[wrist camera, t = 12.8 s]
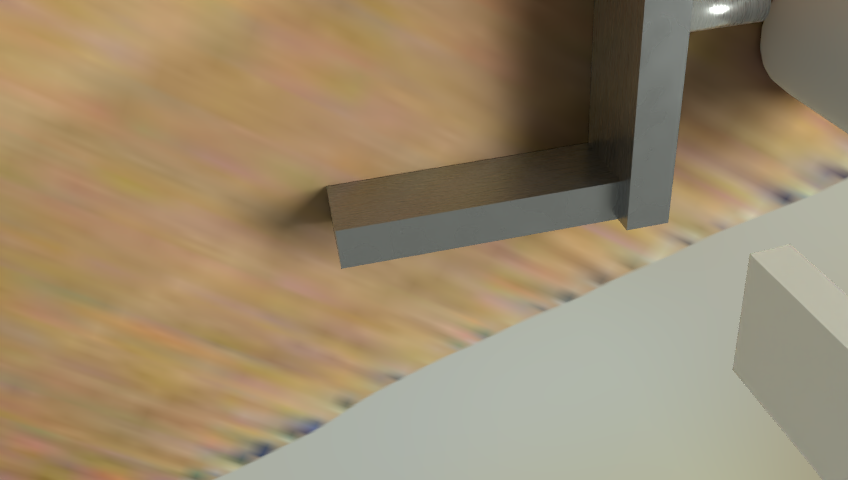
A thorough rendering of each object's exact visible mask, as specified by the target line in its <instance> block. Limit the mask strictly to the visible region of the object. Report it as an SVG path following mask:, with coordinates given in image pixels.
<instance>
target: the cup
mask: <svg viewBox="0 0 848 480" xmlns="http://www.w3.org/2000/svg"><path fill="white" fill-rule="evenodd" d="M760 51H761V56H762V61H763V66H764V68H765V69H766V71H767V73H768V75H769V77H770V78H771V79H772V80H773V81H774V82H775V83H776V84H778V85H779V86H780V87H781V88H782V89H784V90H785V91H786V92H787V93H788V94H790V95H791V96H793V97H794V98H796V99H797V100H799V101H800V102H802V103H803V104H805V105H806V106H808V107H809V108H811V109H812V110H813V111H815V112H816V113H818V114H819V115H821V116H822V117H824V118H825V119H827V120H828V121H830V122H831V123H833V124H834V125H836V126H837V127H839V128H840V129H842V130H843V131H845V132H846V133H848V0H773V1H772V3H771V8H770V12H769V15H768V17H767V18H766V19H765V20H764V22H763V25H762V32H761V43H760Z"/></svg>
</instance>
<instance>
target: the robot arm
mask: <svg viewBox="0 0 848 480" xmlns="http://www.w3.org/2000/svg"><path fill="white" fill-rule="evenodd" d="M733 371H734V372H735V373H736V374H737V376H738V377H739V378H740V379H741V381H742V382H743V383H744V384H745V385H746V387H747V388H748V389H749V390H750V392H751V393H752V394H753V395H754V396H755V398H756V399H757V400H758V401H759V403H760V404H761V405H762V406H763V407H764V409H765V410H766V411H767V412H768V413H769V415H770V416H771V417H772V418H773V420H774V421H775V422H776V423H777V425H778V426H779V427H780V428H781V429H782V431H783V432H784V433H785V434H786V436H787V437H788V438H789V439H790V440H791V442H792V443H793V444H794V445H795V446H796V447H797V449H798V450H799V451H800V453H801V454H802V455H803V456H804V457H805V459H806V460H807V461H808V462H809V464H810V465H811V466H812V467H813V469H814V470H815V471H816V472H817V473H818V475H819V476H820V477H821V478H822V479H823V480H848V295H847V294H845V293H844V292H843V291H842V290H841V289H840V288H839V287H838V286H837V285H836V284H834V283H833V282H832V281H831V280H830V279H829V278H828V277H827V276H825V275H824V274H823V273H822V272H821V271H820V270H819V269H817V268H816V267H815V266H814V265H813V264H812V263H811V262H810V261H809V260H807V259H806V258H805V257H804V256H803V255H802V254H801V253H799V252H798V251H797V250H796V249H795V248H794V247H793V246H792V245H790V244H789V245H785V246H781V247H777V248H772V249H768V250H764V251H760V252H756V253H752V254H750V257H749V263H748V270H747V277H746V283H745V291H744V297H743V303H742V311H741V317H740V323H739V330H738V337H737V343H736V350H735V357H734V364H733Z"/></svg>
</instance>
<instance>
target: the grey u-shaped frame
mask: <svg viewBox="0 0 848 480" xmlns="http://www.w3.org/2000/svg"><path fill="white" fill-rule="evenodd" d="M770 8H771V0H594V19H593V42H592V65H591V88H590V111H589V134H588V143H584V144H578V145H572V146H566V147H560V148H554V149H548V150H542V151H536V152H530V153H524V154H518V155H512V156H506V157H500V158H494V159H488V160H482V161H476V162H470V163H464V164H458V165H452V166H446V167H440V168H434V169H428V170H422V171H416V172H410V173H404V174H398V175H392V176H386V177H380V178H374V179H368V180H362V181H356V182H350V183H344V184H338V185H332V186H326V188H327V194H328V200H329V206H330V212H331V218H332V223H333V229H334V234H335V239H336V244H337V249H338V254H339V259H340V264H341V269H342V268H347V267H353V266H359V265H364V264H370V263H375V262H381V261H386V260H392V259H397V258H403V257H409V256H414V255H420V254H425V253H431V252H436V251H442V250H448V249H453V248H459V247H464V246H470V245H475V244H481V243H486V242H492V241H498V240H503V239H509V238H514V237H520V236H525V235H531V234H536V233H542V232H548V231H553V230H559V229H564V228H570V227H575V226H581V225H587V224H592V223H598V222H603V221H609V220H614V219H619V221H620V222H621V223H622V225H623V226H624V227H625V229H626V230H630V229H636V228H641V227H647V226H652V225H658V224H663V223H668V219H669V210H670V201H671V192H672V184H673V175H674V166H675V157H676V149H677V140H678V131H679V122H680V114H681V105H682V96H683V87H684V78H685V70H686V61H687V52H688V43H689V35H690V32H696V31H703V30H709V29H716V28H722V27H729V26H736V25H742V24H749V23H755V22H762V21H764V20H765V19H766V18H767V17H768V15H769V12H770Z"/></svg>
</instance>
